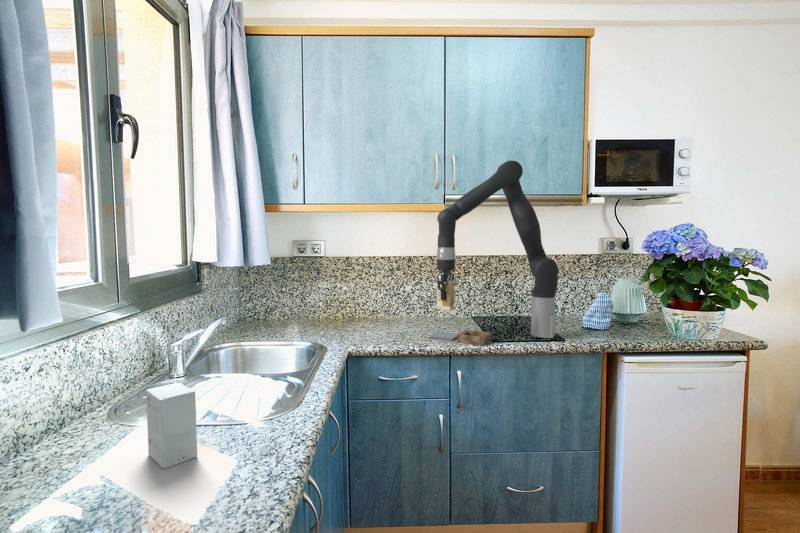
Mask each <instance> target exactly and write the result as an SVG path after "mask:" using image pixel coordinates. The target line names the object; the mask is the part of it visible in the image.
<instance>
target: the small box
mask: <svg viewBox="0 0 800 533" xmlns="http://www.w3.org/2000/svg"><path fill="white" fill-rule="evenodd" d="M145 391H146V392H145V393H146V397H145V398H146V418H147V419H146V424H147V445H148V447H147V448H148V450H147V451H148V452H147V453H148V455H149V456H150V457H151V458H152V460H154V461H155V462H156V463H157V464H158V465H159V467H161V469H163V470H164V469H167V468H170V467H173V466H176V465H178V464H181V463H184V462H187V461H189V460H192V459H195V458H197V457H198V435H197V410H196V409H197V408H196V391H195V390H193V389H192V388H190V387H188V386H187V385H185V384H183V383H181V382H179V381H178V382H174V383H170V384H166V385H162V386H161V385H160V386H156V387H153V388H147V389H146V390H145Z"/></svg>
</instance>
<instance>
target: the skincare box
mask: <svg viewBox="0 0 800 533" xmlns="http://www.w3.org/2000/svg"><path fill="white" fill-rule="evenodd" d="M455 281H456V280H455V279H454V280H449V281H448V285H447V289H446V300H441V291H440V290H438V285H437V289H436V309H437V310H439V311H440V310H443V311H453V310H454V309H455V307H454V306H455V285H456V284H455ZM444 283H446V282H444Z"/></svg>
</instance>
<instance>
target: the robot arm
mask: <svg viewBox="0 0 800 533" xmlns="http://www.w3.org/2000/svg"><path fill="white" fill-rule="evenodd" d="M523 171H524V170H523V166H522V164H521V163H520V162H518V161H517V160H507V161H505V162H503V163H501V165H499V166H498V167H497V170H496V172H495V173H494V174H493V175H491V176H490V177H489V178H488V179H486V180H484V182H482V183H480V184H478V185H477V186H476V187H474V188H472V189H471V190H469V191H468V192H466V193H465V194H463V195H462V196H461V197H460V198H458V199H457V200H456V201H455V202H454V203H452V204H450V205H449V206H447V207H445V208H444V209H442V211H440V212H439V213H438V215H437V217H436V218H437V219H436V220H437V223H438V235H437V251H436V270H438V271H440V273H439V275H437V276H436V281H437V286H438V290H440V291H441V300H446V289H447V285H448V281H449V280H454V281H455V274H454V273H453V272H452V271H455V269H456V248H455V247H456V246H455V245H456V241H455V240H456V237H455V234H456V233H455V232H456V226H457V225H456V223H457V221H459V219H461V218H463V216H466V215H467V214H469V213H470V212H472V211H473V210H475V209H477V207H479V206H480V205H482V204H483V203H484V202H485V201H486V200H488V199H489V198H490V197H492V196H493V195H494V194H495V193H497V192H499V191H500V190H502V191H503V194H504V196H505V199H506V201H507V204H508V208H509V211H510V214H511V217H512V220H513V223H514V226H515V228H516V230H517V231H516V232H517V234H518V236H519V238H520V239H519V240H520V241H521V244H522V245H523V248H524V250H525V254H526V257H527V262H528V265H529V269H530V273H531V274H532V276H533V277H534V286H533V288H532V290H531V314H530V315H531V316H530V318H531V319H530V336H531V335H533V336H537V337H542V338H553V337H554V336H555V337H556V311H555V310H556V292H557V289H558V282H559V281H558V279H559V267H558V265H557V263H556V261H555V260H553V259H552V258H548V256H547V254H546V252H545V248H544V247H543V243H542V232H541V226H540V222H539V219H538V216H537V213H536V211H535V209H534V207H533V205H532V203H531V202H530V201H529V199H528V198H527V196H526V195H525V193H524V191H523V189H522V185H521V180H520V179H521V178H522V176H523V173H524V172H523ZM444 282H446V283H444ZM555 337H554V338H555Z"/></svg>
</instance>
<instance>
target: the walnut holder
mask: <svg viewBox="0 0 800 533" xmlns="http://www.w3.org/2000/svg"><path fill="white" fill-rule="evenodd" d="M490 341H492V332H490V331H480V330H479V331H477V330H471V329H470V330H469V329H465V330H463V331H461V332H460V333H459V334H458V335H457V338H456V343H457V344H465V345H466V344H467V345H471V346H472V345H474V346H481V347H483V346H485V345H487V344H488V343H489V342H490Z"/></svg>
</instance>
